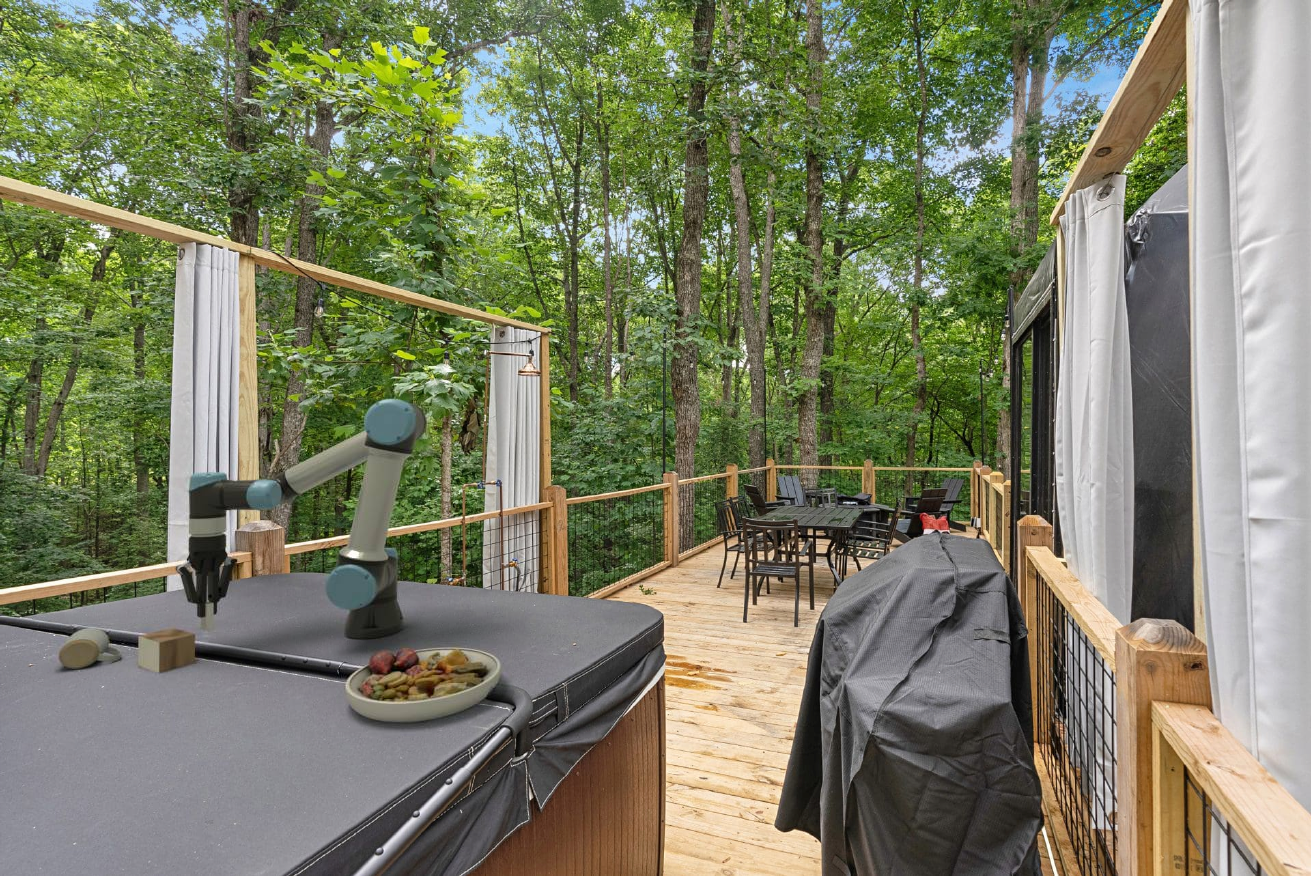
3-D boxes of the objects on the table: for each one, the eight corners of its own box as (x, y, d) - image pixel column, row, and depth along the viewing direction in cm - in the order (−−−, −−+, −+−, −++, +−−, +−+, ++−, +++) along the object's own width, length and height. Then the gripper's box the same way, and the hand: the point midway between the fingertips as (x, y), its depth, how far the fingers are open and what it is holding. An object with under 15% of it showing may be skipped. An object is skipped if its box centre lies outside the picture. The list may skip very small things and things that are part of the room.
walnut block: (195, 634, 141) (159, 642, 135) (194, 663, 141) (158, 673, 135) (173, 627, 146) (138, 636, 140) (173, 656, 146) (138, 665, 140)
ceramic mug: (56, 673, 135) (57, 639, 135) (66, 662, 142) (67, 630, 142) (118, 664, 141) (119, 632, 141) (125, 654, 148) (126, 623, 148)
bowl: (527, 678, 133) (527, 643, 133) (437, 741, 105) (437, 696, 105) (418, 662, 143) (418, 629, 143) (309, 715, 115) (309, 675, 115)
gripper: (227, 530, 156) (227, 620, 155) (169, 536, 144) (168, 634, 144) (244, 531, 152) (243, 624, 152) (185, 539, 141) (184, 638, 140)
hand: (207, 629), depth 148 cm, fingers closed
